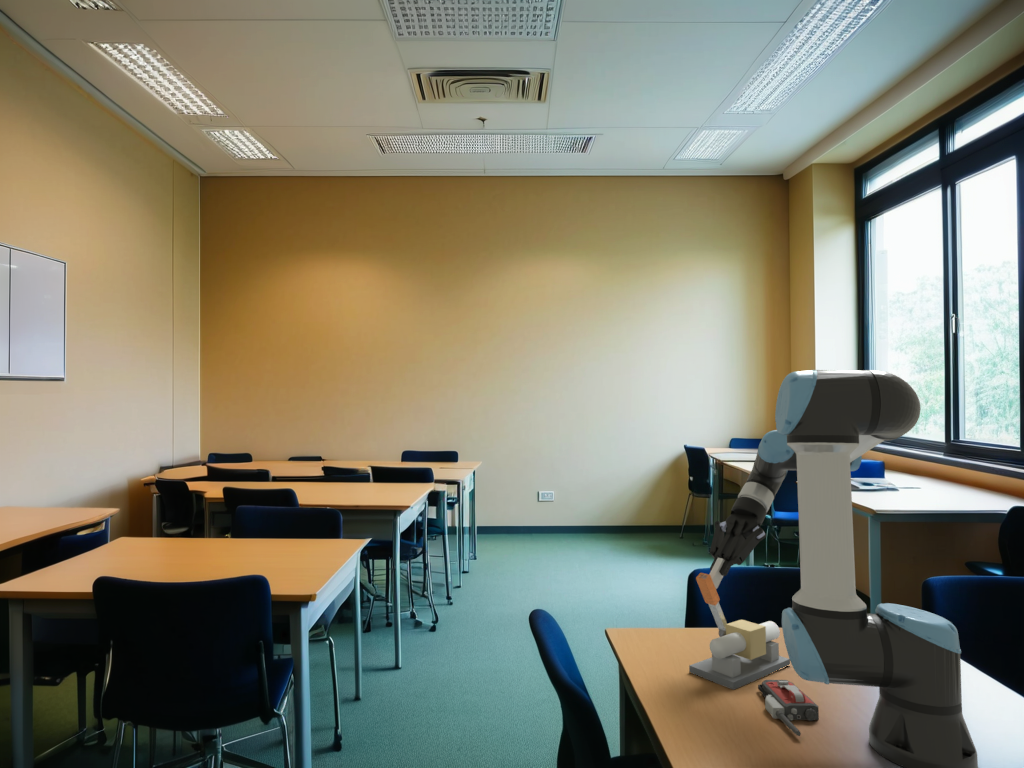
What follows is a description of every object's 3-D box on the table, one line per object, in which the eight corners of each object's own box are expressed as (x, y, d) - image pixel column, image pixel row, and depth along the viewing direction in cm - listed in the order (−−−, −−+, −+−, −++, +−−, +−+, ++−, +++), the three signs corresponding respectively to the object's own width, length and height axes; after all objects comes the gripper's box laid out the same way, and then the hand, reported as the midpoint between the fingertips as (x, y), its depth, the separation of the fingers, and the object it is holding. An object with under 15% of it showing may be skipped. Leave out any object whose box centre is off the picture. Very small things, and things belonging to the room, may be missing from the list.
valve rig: (746, 651, 148) (745, 609, 149) (790, 665, 139) (789, 621, 140) (689, 672, 135) (688, 626, 136) (733, 689, 126) (732, 640, 127)
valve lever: (725, 631, 143) (701, 571, 139) (735, 634, 141) (711, 573, 137) (719, 639, 141) (694, 579, 137) (729, 643, 139) (704, 581, 135)
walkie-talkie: (747, 692, 126) (792, 742, 106) (747, 670, 126) (792, 716, 106) (790, 692, 126) (843, 743, 106) (789, 670, 126) (842, 716, 106)
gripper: (783, 518, 146) (744, 601, 135) (735, 512, 156) (695, 588, 145) (770, 497, 143) (729, 580, 132) (722, 492, 154) (680, 569, 143)
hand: (711, 584), depth 139 cm, fingers closed
